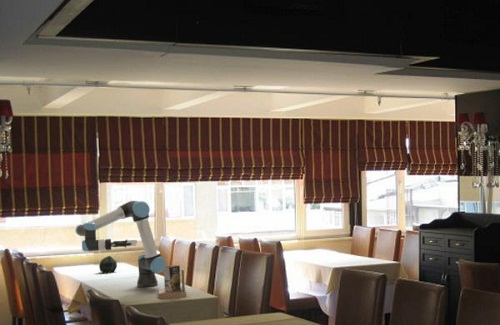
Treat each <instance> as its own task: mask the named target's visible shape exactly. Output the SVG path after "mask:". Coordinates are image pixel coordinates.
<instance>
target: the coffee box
mask: <svg viewBox="0 0 500 325" xmlns="http://www.w3.org/2000/svg"><path fill="white" fill-rule="evenodd" d="M163 277H164V280H163V281H164V282H163V283H164V288H165V291H175V290H180V289H181V287H182V284H181V266H180V265H175V264H174V265H167V266H165V267H164V270H163Z"/></svg>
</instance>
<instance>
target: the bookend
mask: <svg viewBox="0 0 500 325" xmlns="http://www.w3.org/2000/svg"><path fill="white" fill-rule="evenodd" d="M180 278H181V287H182V291H185V288H186V285H185V270H184V267H183V266H180Z"/></svg>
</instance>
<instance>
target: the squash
mask: <svg viewBox="0 0 500 325" xmlns="http://www.w3.org/2000/svg"><path fill="white" fill-rule="evenodd" d="M117 264H118V263H117V261H116V260H115V259H114V257H112V256H111V255H109V256H108V255H107V256H105V257H104V258H102V259H101V260H100V263H99V265H98V266H99V271H100V272H101V273H109V274H110V273H111V274H112V273H115V271H116V270H117V268H118V265H117Z"/></svg>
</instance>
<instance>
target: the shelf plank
mask: <svg viewBox="0 0 500 325" xmlns="http://www.w3.org/2000/svg"><path fill="white" fill-rule="evenodd" d="M186 288H187V287H185V291H182V286H181V289H180V290H175V291H165V287H164V288H162V287H161V288H158V299H166V298H167V299H169V298H183V297H187V289H186Z"/></svg>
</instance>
